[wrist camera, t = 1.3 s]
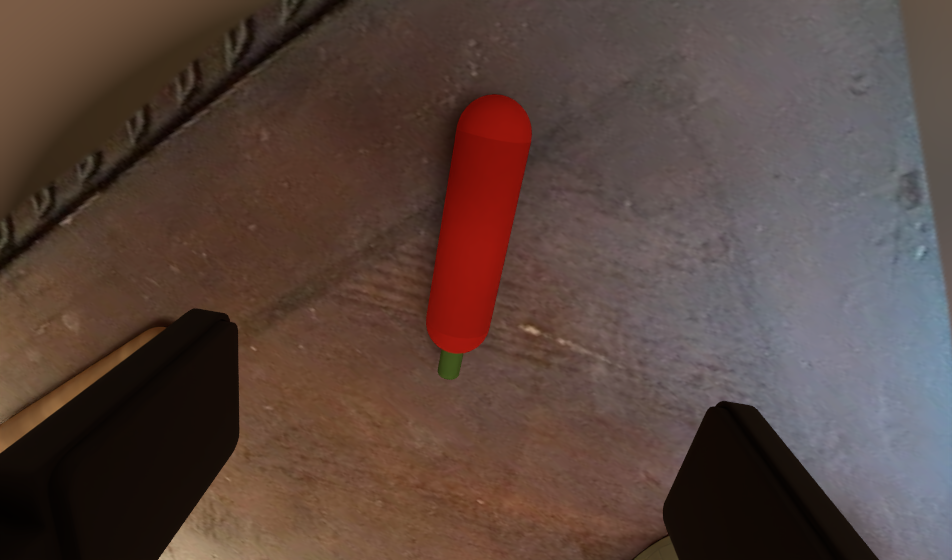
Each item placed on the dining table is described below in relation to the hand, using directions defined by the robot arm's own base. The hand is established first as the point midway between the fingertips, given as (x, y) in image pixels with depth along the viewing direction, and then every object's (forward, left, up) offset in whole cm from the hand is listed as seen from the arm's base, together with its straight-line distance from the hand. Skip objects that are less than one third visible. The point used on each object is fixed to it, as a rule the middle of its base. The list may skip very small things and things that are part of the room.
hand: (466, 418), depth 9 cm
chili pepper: (0, 0, -12) cm, 12 cm away
